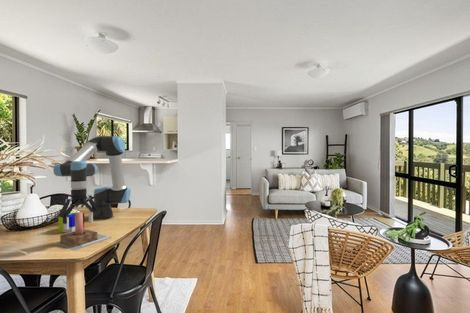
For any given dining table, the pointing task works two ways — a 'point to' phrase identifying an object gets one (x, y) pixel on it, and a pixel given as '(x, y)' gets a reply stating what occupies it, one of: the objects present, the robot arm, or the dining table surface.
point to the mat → (83, 244)
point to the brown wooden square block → (78, 238)
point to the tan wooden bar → (78, 223)
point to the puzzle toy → (71, 223)
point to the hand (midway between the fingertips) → (79, 226)
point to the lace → (94, 241)
